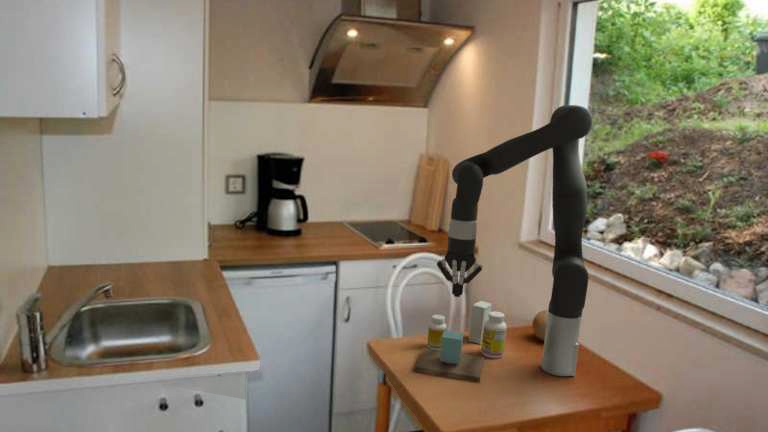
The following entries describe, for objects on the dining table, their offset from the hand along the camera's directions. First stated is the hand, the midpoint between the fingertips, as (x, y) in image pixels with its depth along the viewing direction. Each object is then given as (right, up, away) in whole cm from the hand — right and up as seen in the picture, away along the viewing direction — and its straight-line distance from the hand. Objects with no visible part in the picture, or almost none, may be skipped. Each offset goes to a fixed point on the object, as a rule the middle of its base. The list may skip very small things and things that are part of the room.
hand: (456, 296), depth 179 cm
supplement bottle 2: (+12, -20, +15) cm, 28 cm away
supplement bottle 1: (-5, -18, +18) cm, 26 cm away
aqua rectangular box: (-1, -18, +3) cm, 19 cm away
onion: (+32, -18, +30) cm, 47 cm away
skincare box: (+10, -17, +26) cm, 32 cm away
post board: (-2, -21, +4) cm, 21 cm away
